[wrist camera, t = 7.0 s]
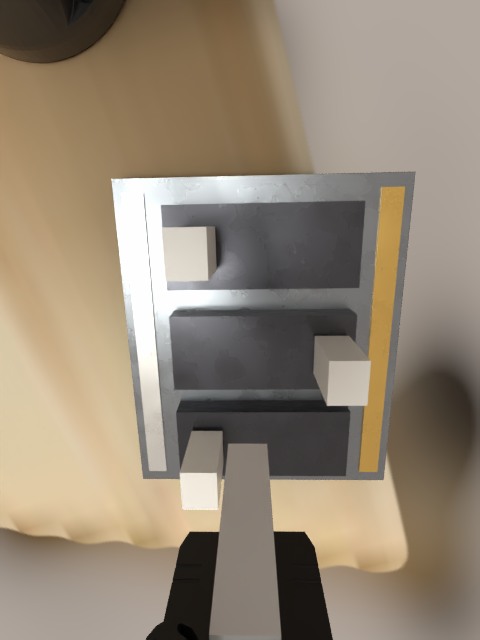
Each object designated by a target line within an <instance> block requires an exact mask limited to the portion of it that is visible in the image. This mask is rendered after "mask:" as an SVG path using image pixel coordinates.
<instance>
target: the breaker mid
mask: <svg viewBox="0 0 480 640" xmlns="http://www.w3.org/2000/svg"><path fill="white" fill-rule="evenodd" d="M370 368H371V360H370V359H369V358H368V357H367V356H366V355H365V353H364V352H363V351H362V350H361V349H360V348H359V347H358V345H357V344H356V343H355V342H354V341H353V340H352V339H351V338H350V336H315V345H314V371H313V374H314V376H315V378H316V381H317V383H318V385H319V388H320V390H321V393H322V395H323V397H324V400H325V402H326V404H327V406H367V404H368V392H369V380H370Z"/></svg>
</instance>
